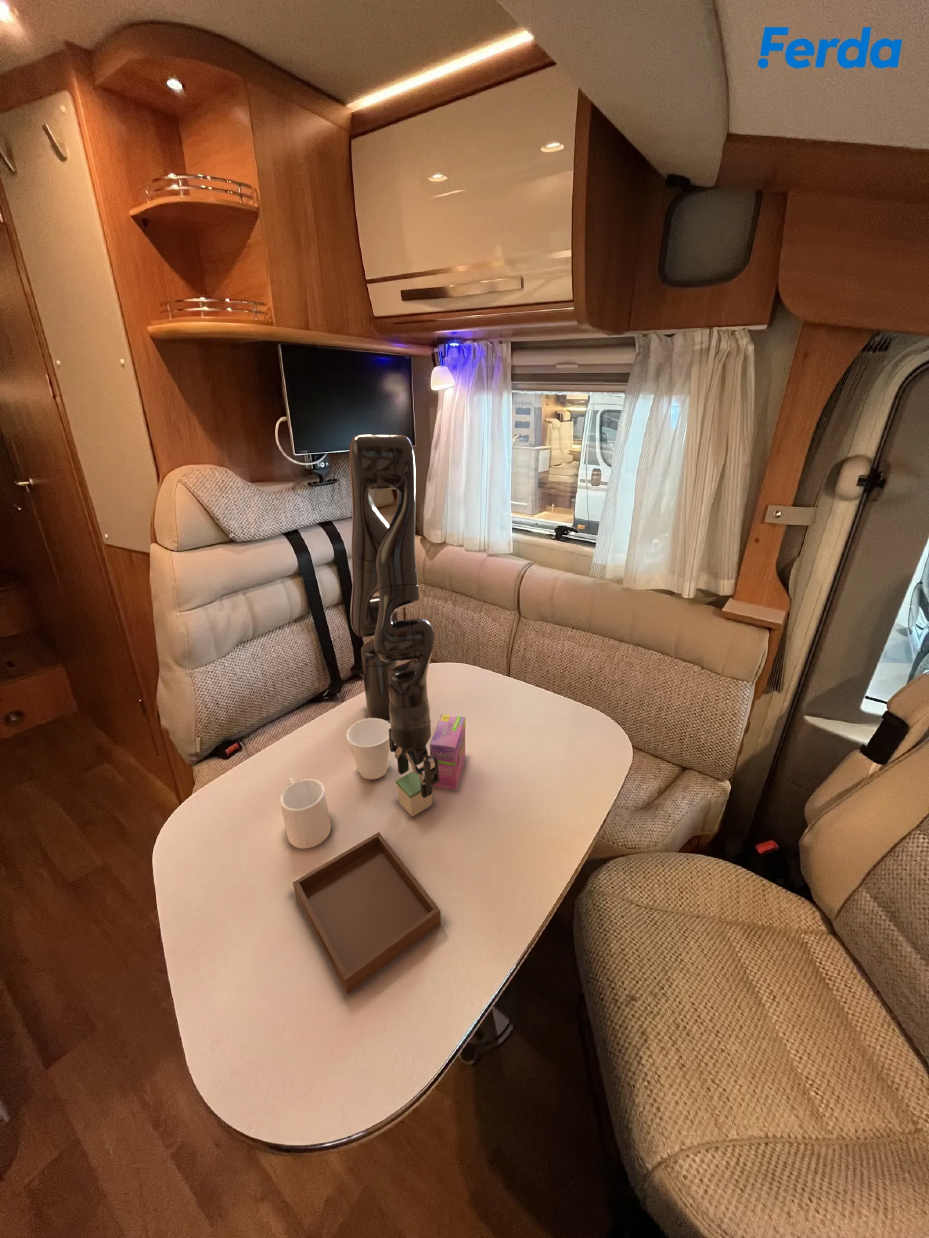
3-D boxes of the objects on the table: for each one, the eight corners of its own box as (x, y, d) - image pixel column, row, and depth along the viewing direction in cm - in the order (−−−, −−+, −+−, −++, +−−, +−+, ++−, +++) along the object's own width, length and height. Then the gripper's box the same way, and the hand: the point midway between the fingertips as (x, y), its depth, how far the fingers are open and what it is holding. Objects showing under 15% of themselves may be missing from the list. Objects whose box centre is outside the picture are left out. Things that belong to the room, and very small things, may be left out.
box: (456, 790, 107) (455, 747, 102) (430, 787, 108) (428, 743, 103) (466, 758, 116) (465, 716, 111) (442, 755, 117) (440, 713, 112)
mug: (313, 797, 105) (306, 761, 101) (337, 834, 97) (331, 796, 92) (275, 816, 101) (266, 779, 97) (297, 856, 92) (288, 817, 88)
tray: (295, 894, 85) (292, 881, 84) (380, 843, 95) (379, 831, 93) (347, 994, 71) (344, 980, 70) (441, 923, 81) (440, 909, 79)
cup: (342, 771, 112) (336, 732, 107) (377, 750, 119) (373, 712, 114) (369, 794, 106) (364, 753, 101) (405, 769, 113) (401, 730, 108)
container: (397, 802, 104) (395, 780, 101) (419, 790, 107) (417, 768, 104) (411, 818, 100) (409, 795, 98) (433, 805, 103) (432, 783, 101)
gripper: (448, 727, 91) (450, 794, 98) (406, 694, 101) (411, 757, 108) (414, 744, 87) (419, 813, 94) (373, 707, 97) (381, 772, 104)
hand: (414, 783), depth 101 cm, fingers open, 8 cm apart
